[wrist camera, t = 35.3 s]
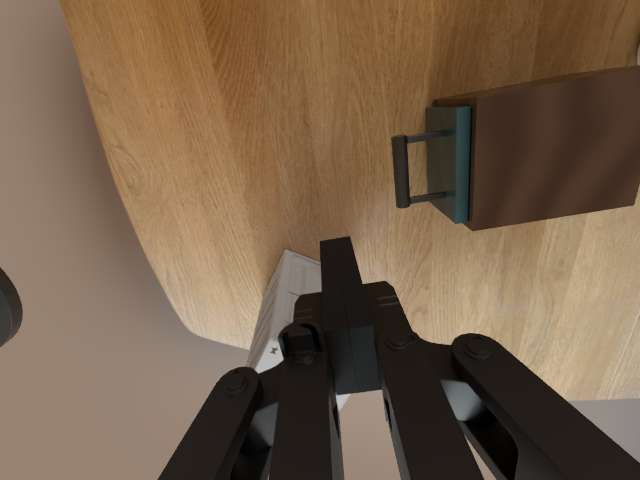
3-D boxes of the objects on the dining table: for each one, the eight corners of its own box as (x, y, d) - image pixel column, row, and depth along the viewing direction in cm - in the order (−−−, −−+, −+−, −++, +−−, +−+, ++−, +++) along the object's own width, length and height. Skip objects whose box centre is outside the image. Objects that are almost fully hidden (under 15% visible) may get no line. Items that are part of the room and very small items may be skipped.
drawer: (387, 207, 36) (404, 232, 29) (379, 116, 32) (397, 119, 25) (543, 181, 35) (601, 200, 28) (556, 83, 31) (627, 76, 24)
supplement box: (260, 300, 43) (229, 410, 27) (284, 246, 39) (264, 337, 24) (322, 322, 44) (325, 436, 29) (350, 272, 41) (370, 372, 26)
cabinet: (435, 201, 37) (472, 231, 28) (433, 99, 33) (477, 97, 24) (557, 181, 36) (634, 205, 28) (573, 73, 32) (672, 61, 23)
